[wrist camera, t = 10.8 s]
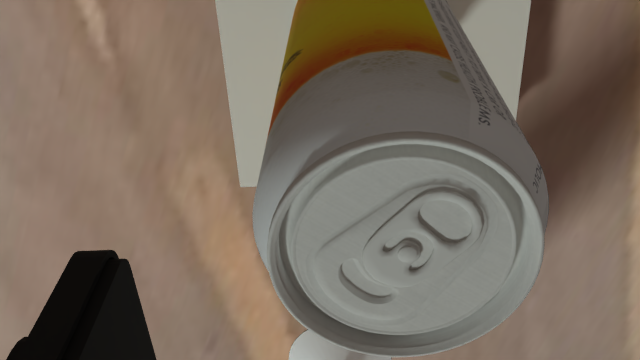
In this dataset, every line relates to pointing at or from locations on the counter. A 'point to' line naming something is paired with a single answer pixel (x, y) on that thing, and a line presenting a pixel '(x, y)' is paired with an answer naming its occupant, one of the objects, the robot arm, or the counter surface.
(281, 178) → the beer can
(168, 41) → the counter surface
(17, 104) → the counter surface
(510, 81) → the riser
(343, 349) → the champagne flute
